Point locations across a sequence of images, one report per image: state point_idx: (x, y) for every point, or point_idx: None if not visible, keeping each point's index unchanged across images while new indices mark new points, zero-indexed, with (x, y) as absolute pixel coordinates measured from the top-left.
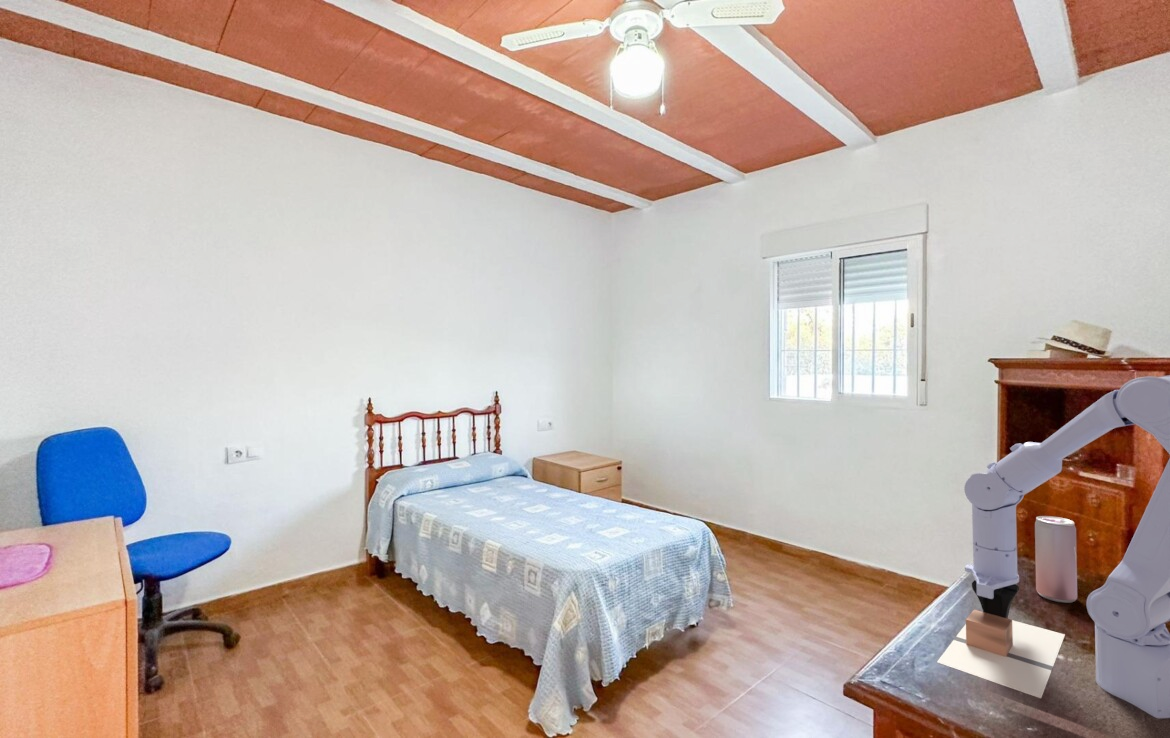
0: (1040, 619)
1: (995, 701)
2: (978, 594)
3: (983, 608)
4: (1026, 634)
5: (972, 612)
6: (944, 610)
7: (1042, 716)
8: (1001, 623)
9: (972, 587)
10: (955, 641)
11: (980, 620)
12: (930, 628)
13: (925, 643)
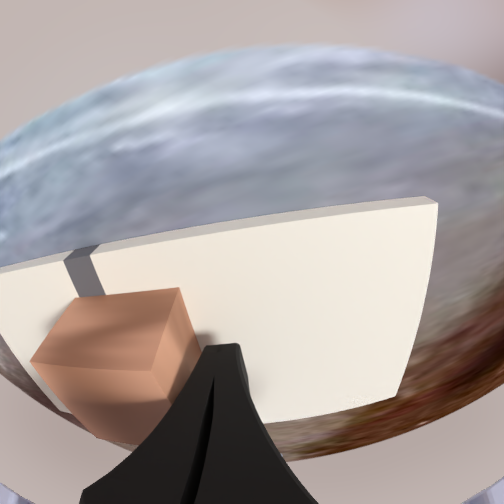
0: (481, 314)
1: (13, 360)
2: (3, 488)
3: (169, 413)
4: (331, 371)
5: (106, 372)
6: (387, 81)
7: (48, 400)
8: (131, 436)
9: (80, 501)
10: (59, 269)
11: (75, 397)
12: (125, 122)
13: (21, 189)
